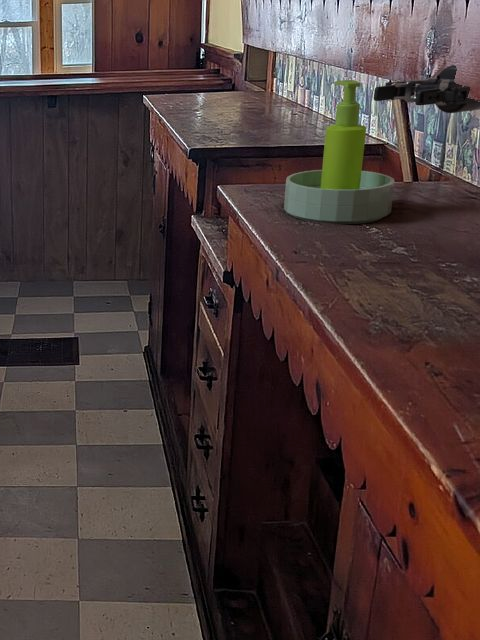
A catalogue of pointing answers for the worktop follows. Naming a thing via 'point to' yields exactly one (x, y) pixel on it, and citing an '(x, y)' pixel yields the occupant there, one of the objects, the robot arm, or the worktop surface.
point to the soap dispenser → (344, 143)
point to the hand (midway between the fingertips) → (396, 96)
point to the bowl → (338, 199)
